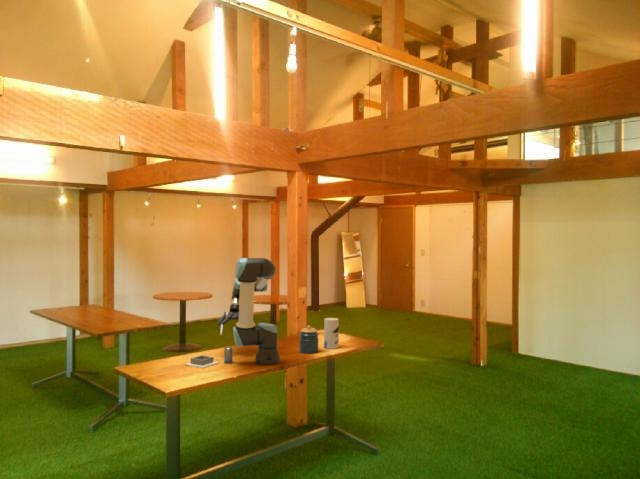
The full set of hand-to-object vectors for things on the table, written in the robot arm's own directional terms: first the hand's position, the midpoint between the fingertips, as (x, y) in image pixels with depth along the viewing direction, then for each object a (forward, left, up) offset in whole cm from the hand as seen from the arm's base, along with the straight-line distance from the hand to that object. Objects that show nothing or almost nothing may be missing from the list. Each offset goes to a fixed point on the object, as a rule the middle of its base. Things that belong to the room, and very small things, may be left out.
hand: (231, 334), depth 301 cm
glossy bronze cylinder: (-5, +9, -15) cm, 19 cm away
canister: (-32, -41, -15) cm, 54 cm away
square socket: (+6, +20, -15) cm, 26 cm away
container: (-39, -60, -15) cm, 73 cm away
